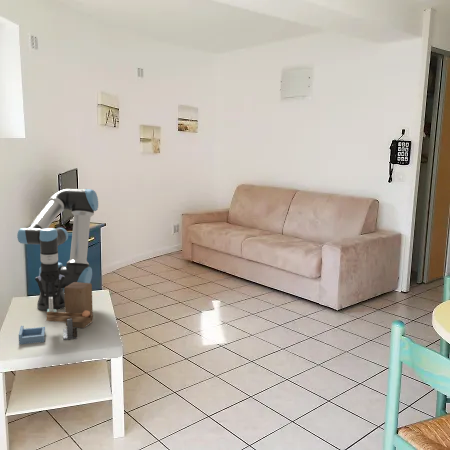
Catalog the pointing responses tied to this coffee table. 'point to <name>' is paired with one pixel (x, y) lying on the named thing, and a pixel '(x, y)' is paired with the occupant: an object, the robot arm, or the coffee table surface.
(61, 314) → the lever
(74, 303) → the wooden block
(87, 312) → the ball
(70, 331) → the fulcrum
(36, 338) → the blue square tray
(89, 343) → the coffee table surface
